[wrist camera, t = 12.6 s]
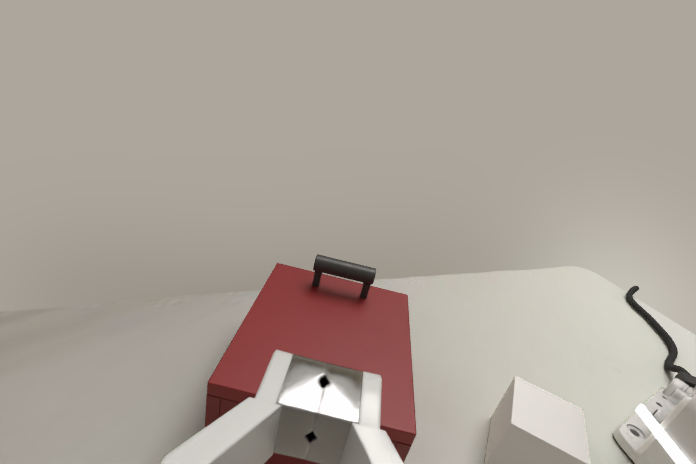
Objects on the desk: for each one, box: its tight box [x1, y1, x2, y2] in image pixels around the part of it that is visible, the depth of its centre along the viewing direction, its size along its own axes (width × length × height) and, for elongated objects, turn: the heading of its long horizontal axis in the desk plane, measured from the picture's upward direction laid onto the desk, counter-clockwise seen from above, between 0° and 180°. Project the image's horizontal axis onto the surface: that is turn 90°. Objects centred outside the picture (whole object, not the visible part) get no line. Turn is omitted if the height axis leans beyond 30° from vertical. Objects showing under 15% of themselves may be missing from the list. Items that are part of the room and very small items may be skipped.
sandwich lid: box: [207, 255, 416, 445], centre depth 31 cm, size 16×14×5 cm
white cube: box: [484, 376, 591, 464], centre depth 32 cm, size 6×6×6 cm
